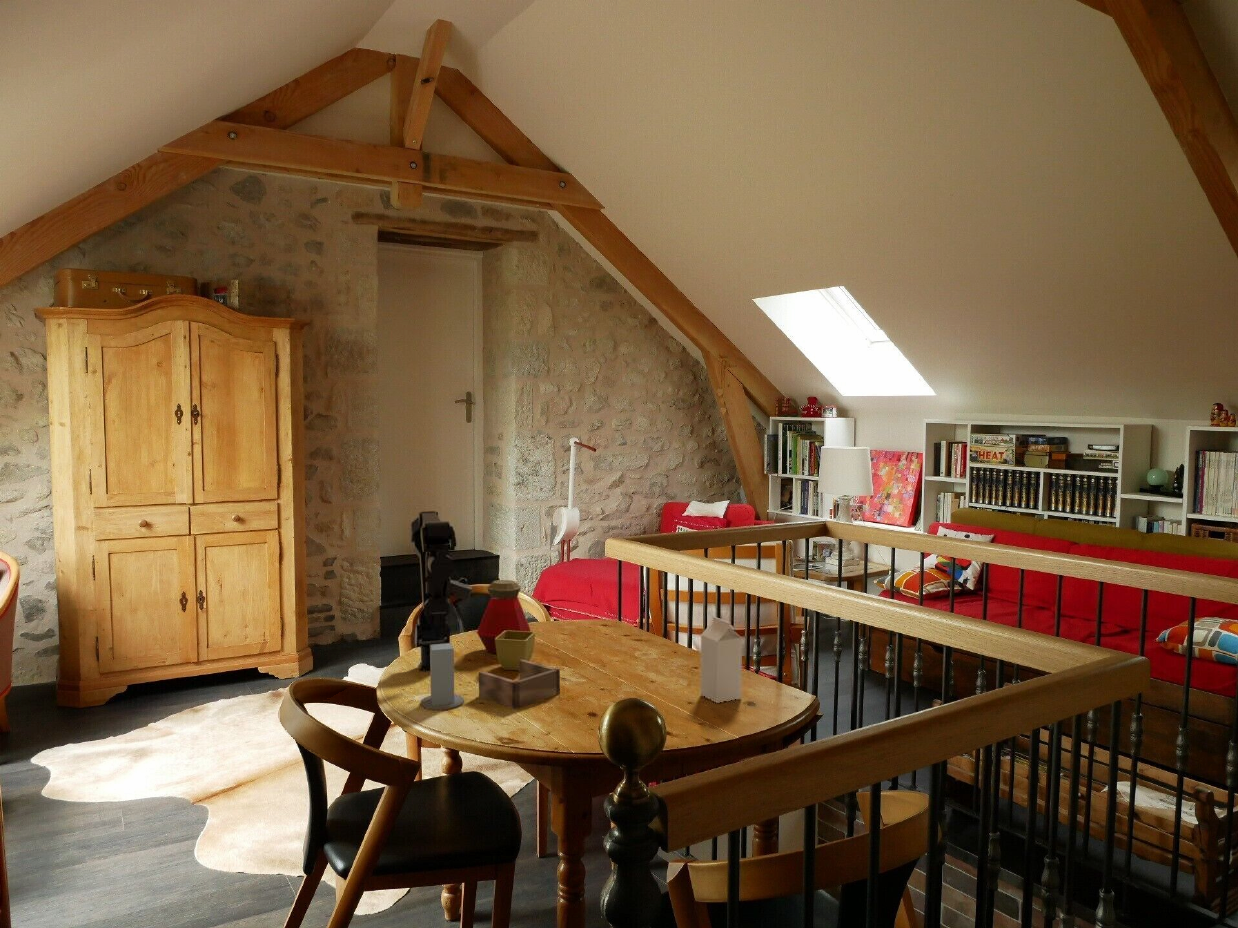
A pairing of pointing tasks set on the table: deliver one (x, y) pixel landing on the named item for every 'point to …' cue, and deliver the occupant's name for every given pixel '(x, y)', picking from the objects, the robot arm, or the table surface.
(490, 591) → the bottle
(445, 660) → the block
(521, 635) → the flower pot
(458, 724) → the table surface
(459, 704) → the mat
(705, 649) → the milk carton
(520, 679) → the crate
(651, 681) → the table surface
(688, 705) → the table surface
